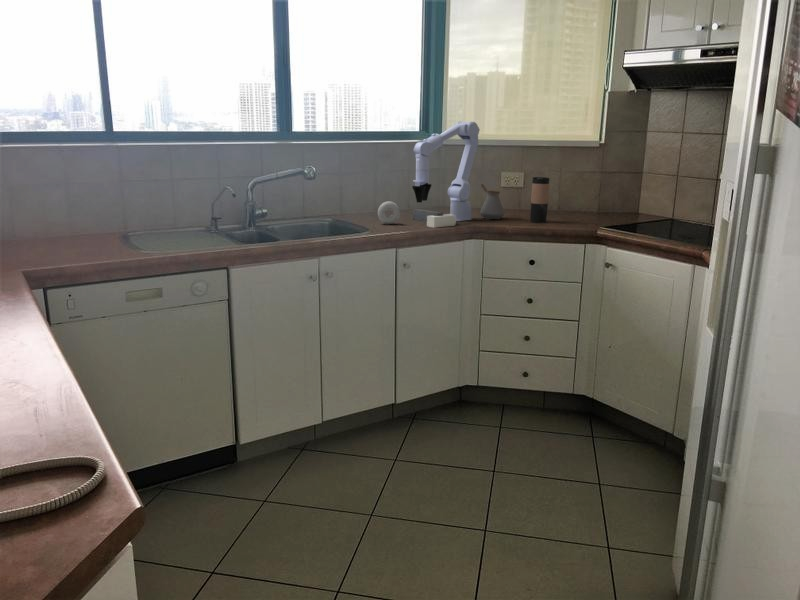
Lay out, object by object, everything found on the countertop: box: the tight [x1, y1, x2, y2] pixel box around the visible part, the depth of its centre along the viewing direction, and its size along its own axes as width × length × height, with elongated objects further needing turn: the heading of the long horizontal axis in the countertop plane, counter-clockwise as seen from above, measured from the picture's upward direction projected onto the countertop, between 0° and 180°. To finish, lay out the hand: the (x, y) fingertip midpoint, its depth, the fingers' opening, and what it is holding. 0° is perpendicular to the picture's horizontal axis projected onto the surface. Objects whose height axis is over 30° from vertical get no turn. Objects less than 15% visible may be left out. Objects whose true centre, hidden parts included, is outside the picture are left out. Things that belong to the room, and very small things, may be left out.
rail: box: [412, 208, 444, 223], centre depth 302 cm, size 4×16×5 cm, turn 40°
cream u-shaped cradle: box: [426, 213, 457, 229], centre depth 289 cm, size 12×5×4 cm, turn 129°
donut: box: [377, 200, 401, 225], centre depth 291 cm, size 10×4×10 cm, turn 105°
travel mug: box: [529, 176, 550, 224], centre depth 304 cm, size 8×8×20 cm
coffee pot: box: [478, 183, 505, 220], centre depth 317 cm, size 21×12×15 cm, turn 14°
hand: (421, 201), depth 296 cm, fingers open, 7 cm apart
